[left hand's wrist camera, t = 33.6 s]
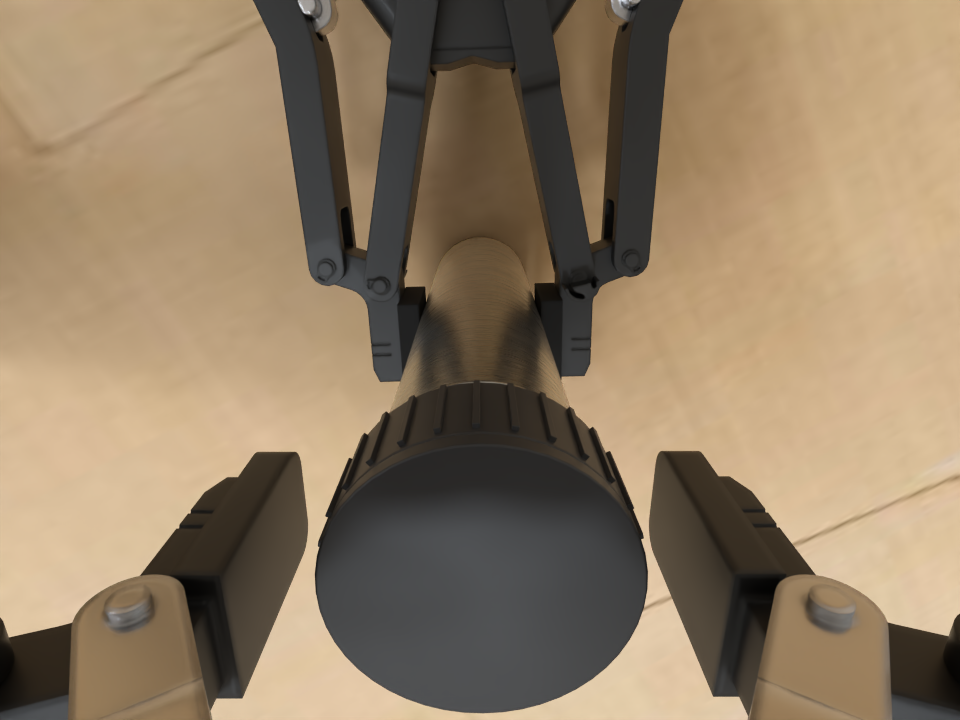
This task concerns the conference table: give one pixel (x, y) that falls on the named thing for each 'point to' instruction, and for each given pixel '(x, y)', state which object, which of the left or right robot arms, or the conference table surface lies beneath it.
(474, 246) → the tan cylinder
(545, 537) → the lid
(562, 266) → the right robot arm
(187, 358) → the conference table surface
